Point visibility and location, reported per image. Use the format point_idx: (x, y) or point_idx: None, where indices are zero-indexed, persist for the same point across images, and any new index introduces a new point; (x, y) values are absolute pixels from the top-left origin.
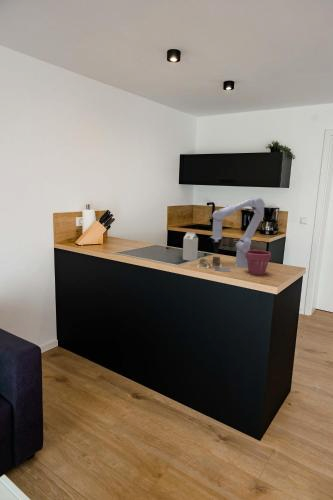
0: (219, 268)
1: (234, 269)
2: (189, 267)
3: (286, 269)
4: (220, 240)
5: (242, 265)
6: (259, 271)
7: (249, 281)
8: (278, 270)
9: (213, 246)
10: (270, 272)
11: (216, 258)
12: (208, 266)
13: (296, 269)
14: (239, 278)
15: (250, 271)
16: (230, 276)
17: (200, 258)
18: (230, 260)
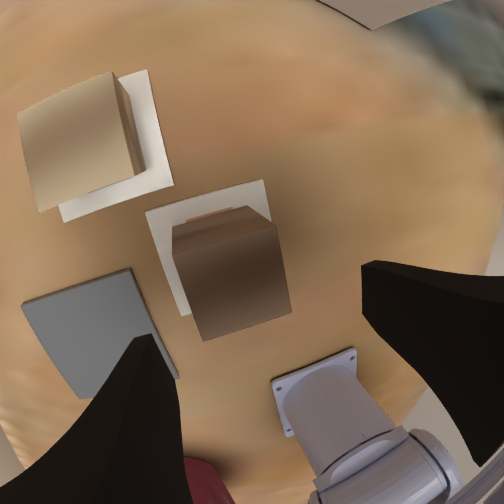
0: (107, 320)
1: (184, 398)
2: (33, 52)
3: (311, 488)
4: (476, 446)
5: (285, 414)
6: None
7: (28, 459)
8: (283, 488)
9: (73, 425)
10: (232, 489)
11: (188, 301)
12: (123, 198)
13: None
14: (26, 435)
15: None
16: (15, 404)
17: (50, 107)
18: None
